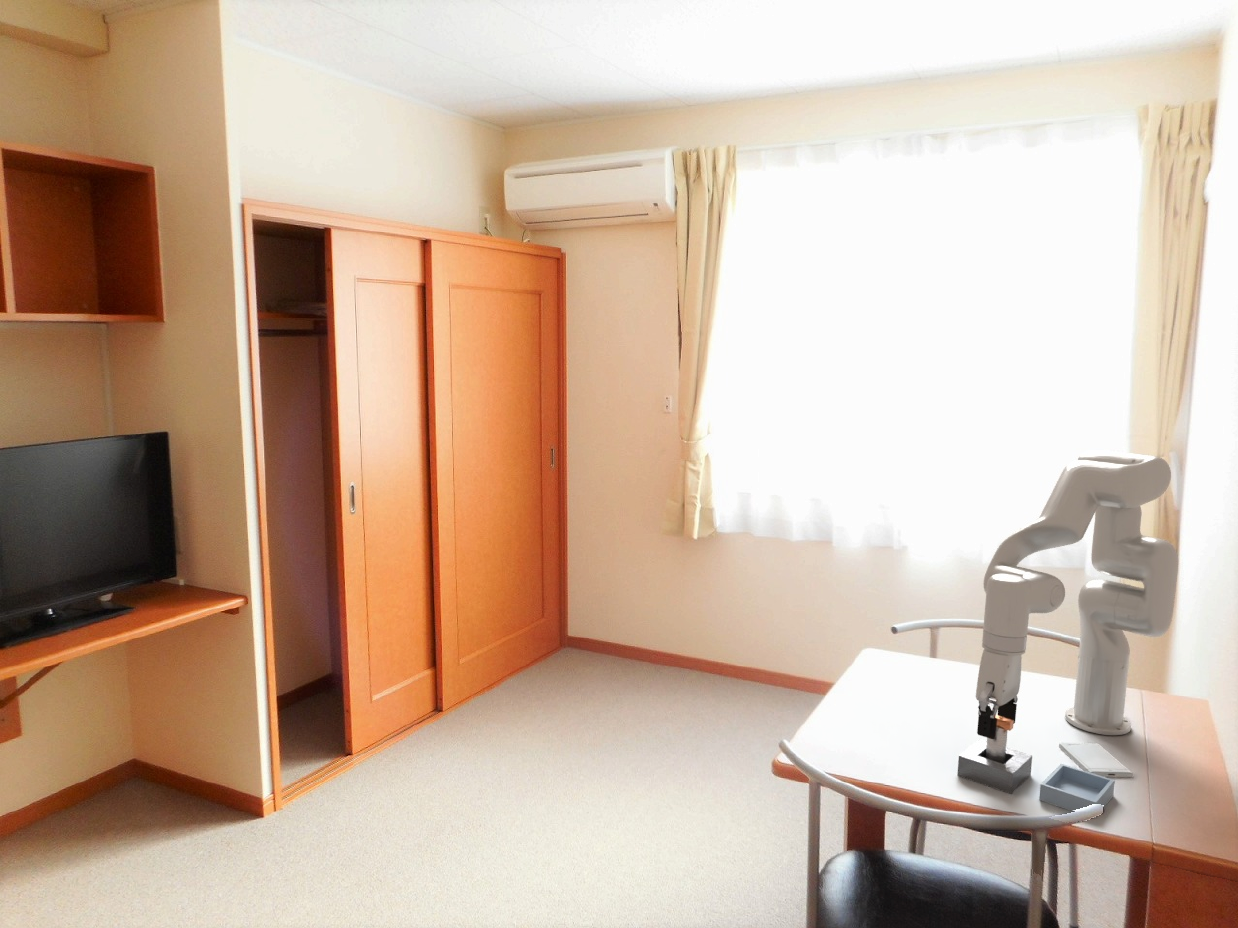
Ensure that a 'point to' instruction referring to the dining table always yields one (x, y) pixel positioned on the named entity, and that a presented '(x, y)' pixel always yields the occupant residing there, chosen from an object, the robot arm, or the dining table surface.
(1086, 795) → the tray
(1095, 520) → the robot arm
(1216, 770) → the dining table surface
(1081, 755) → the hard drive
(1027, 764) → the block
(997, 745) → the pin
